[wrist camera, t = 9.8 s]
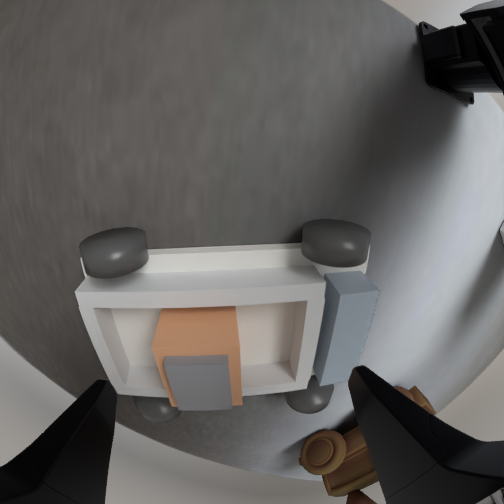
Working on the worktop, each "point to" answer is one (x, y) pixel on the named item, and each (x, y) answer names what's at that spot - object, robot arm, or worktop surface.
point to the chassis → (247, 309)
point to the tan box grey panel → (199, 357)
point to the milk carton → (502, 231)
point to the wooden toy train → (347, 458)
